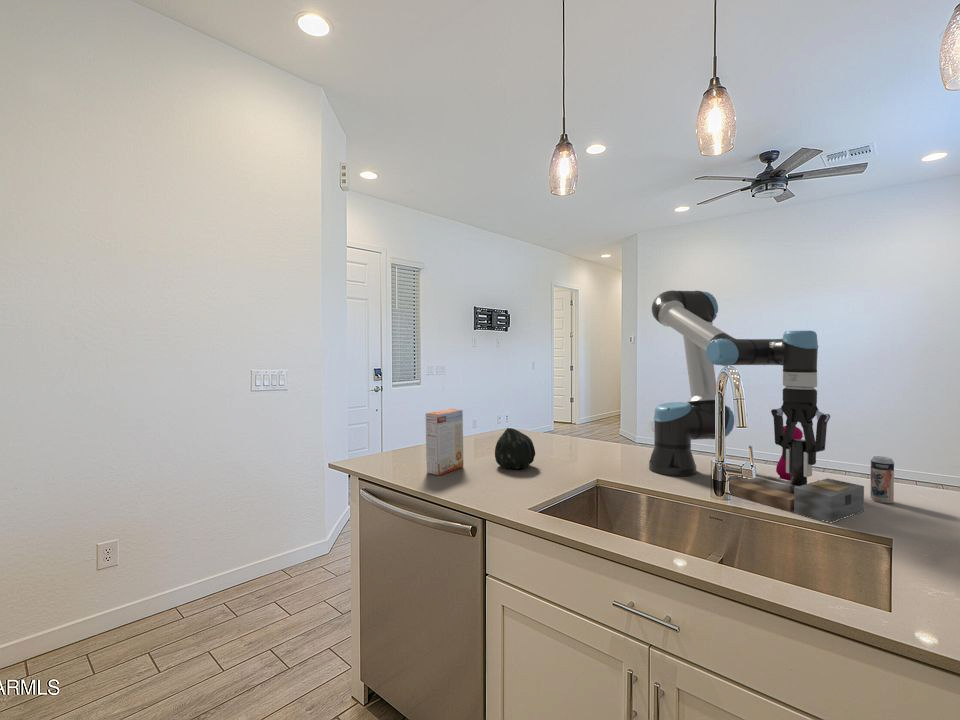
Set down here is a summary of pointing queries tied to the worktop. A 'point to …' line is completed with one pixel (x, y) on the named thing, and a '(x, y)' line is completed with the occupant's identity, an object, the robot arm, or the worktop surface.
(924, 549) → the worktop surface
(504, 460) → the squash
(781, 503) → the brown grey flat block
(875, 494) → the beer can
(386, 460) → the worktop surface
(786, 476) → the pepper mill
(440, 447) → the cracker box
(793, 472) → the black l-shaped bracket
